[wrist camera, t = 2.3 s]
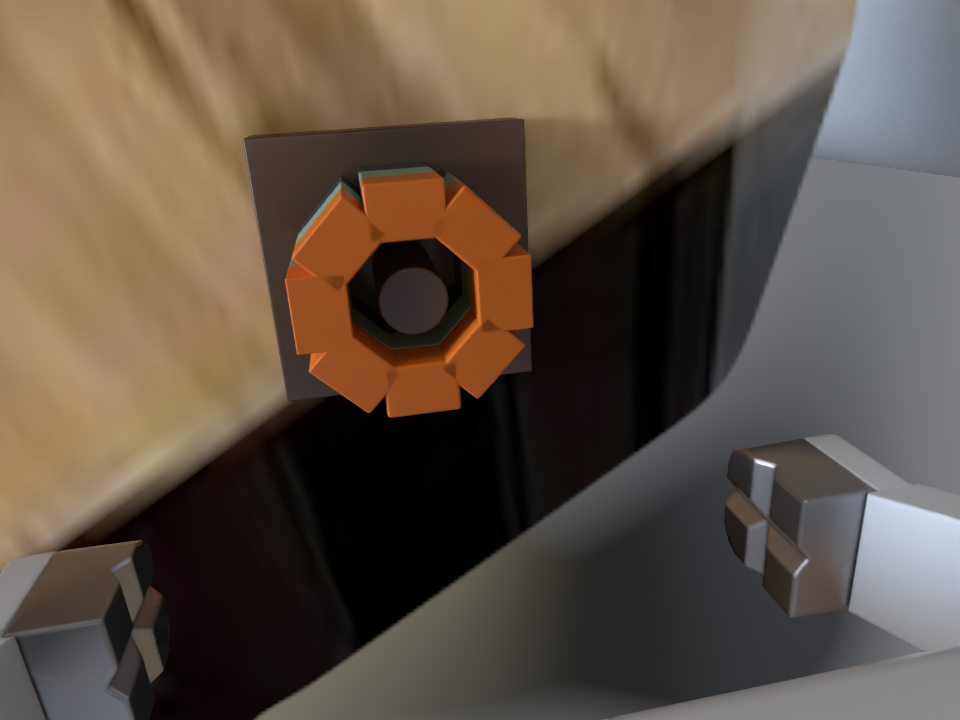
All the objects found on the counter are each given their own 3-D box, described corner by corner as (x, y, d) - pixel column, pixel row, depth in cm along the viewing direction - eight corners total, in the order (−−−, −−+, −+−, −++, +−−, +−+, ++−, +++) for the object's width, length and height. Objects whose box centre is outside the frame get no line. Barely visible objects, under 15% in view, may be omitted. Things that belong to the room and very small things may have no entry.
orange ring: (515, 164, 20) (528, 170, 19) (523, 380, 23) (536, 399, 21) (275, 183, 19) (270, 191, 18) (310, 406, 22) (308, 429, 20)
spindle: (514, 117, 25) (564, 124, 19) (523, 357, 28) (568, 423, 22) (248, 135, 23) (219, 149, 18) (290, 386, 26) (277, 463, 21)
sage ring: (503, 159, 22) (515, 164, 20) (512, 362, 24) (523, 380, 23) (280, 177, 21) (275, 183, 19) (312, 387, 23) (310, 406, 22)
